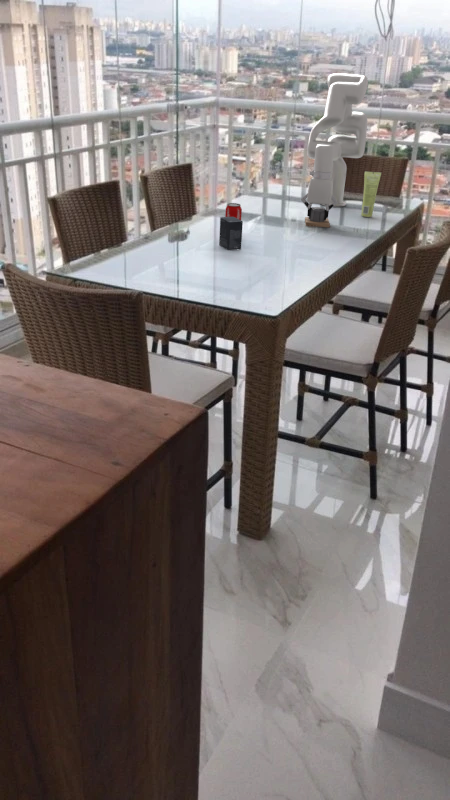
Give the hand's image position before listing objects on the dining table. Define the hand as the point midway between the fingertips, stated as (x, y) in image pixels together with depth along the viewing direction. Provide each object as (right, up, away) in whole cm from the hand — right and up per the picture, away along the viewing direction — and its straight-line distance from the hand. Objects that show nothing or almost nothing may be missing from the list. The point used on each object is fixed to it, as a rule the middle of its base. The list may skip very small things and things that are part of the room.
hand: (317, 218), depth 300 cm
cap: (0, -1, 0) cm, 1 cm away
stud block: (0, -2, +1) cm, 2 cm away
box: (-38, -21, -39) cm, 58 cm away
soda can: (-37, -13, -23) cm, 45 cm away
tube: (+25, +6, +19) cm, 32 cm away
